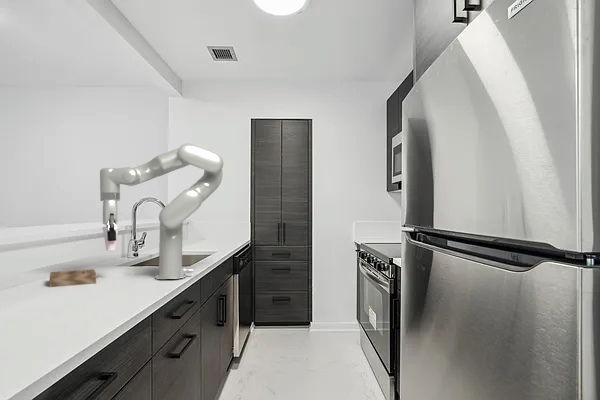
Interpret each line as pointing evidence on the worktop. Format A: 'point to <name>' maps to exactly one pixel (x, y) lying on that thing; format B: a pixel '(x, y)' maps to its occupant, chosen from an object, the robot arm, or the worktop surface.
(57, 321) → the worktop surface
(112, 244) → the smoothie
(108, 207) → the robot arm
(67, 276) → the cutout board
